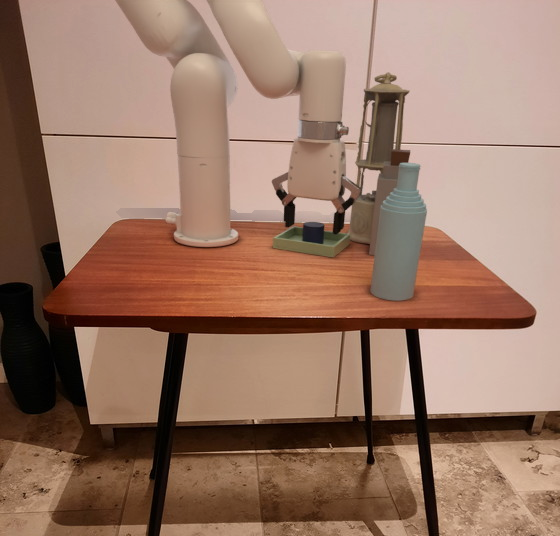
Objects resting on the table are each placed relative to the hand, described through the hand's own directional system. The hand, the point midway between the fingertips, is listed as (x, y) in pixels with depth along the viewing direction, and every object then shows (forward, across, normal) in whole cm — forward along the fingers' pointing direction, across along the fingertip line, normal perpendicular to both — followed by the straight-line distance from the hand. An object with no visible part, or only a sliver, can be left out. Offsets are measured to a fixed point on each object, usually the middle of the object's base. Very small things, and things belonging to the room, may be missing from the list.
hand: (312, 229), depth 104 cm
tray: (+3, 0, 0) cm, 3 cm away
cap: (+3, 0, 0) cm, 3 cm away
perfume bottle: (+3, -14, -4) cm, 15 cm away
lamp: (+3, -8, -13) cm, 16 cm away
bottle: (+3, -20, +18) cm, 27 cm away
